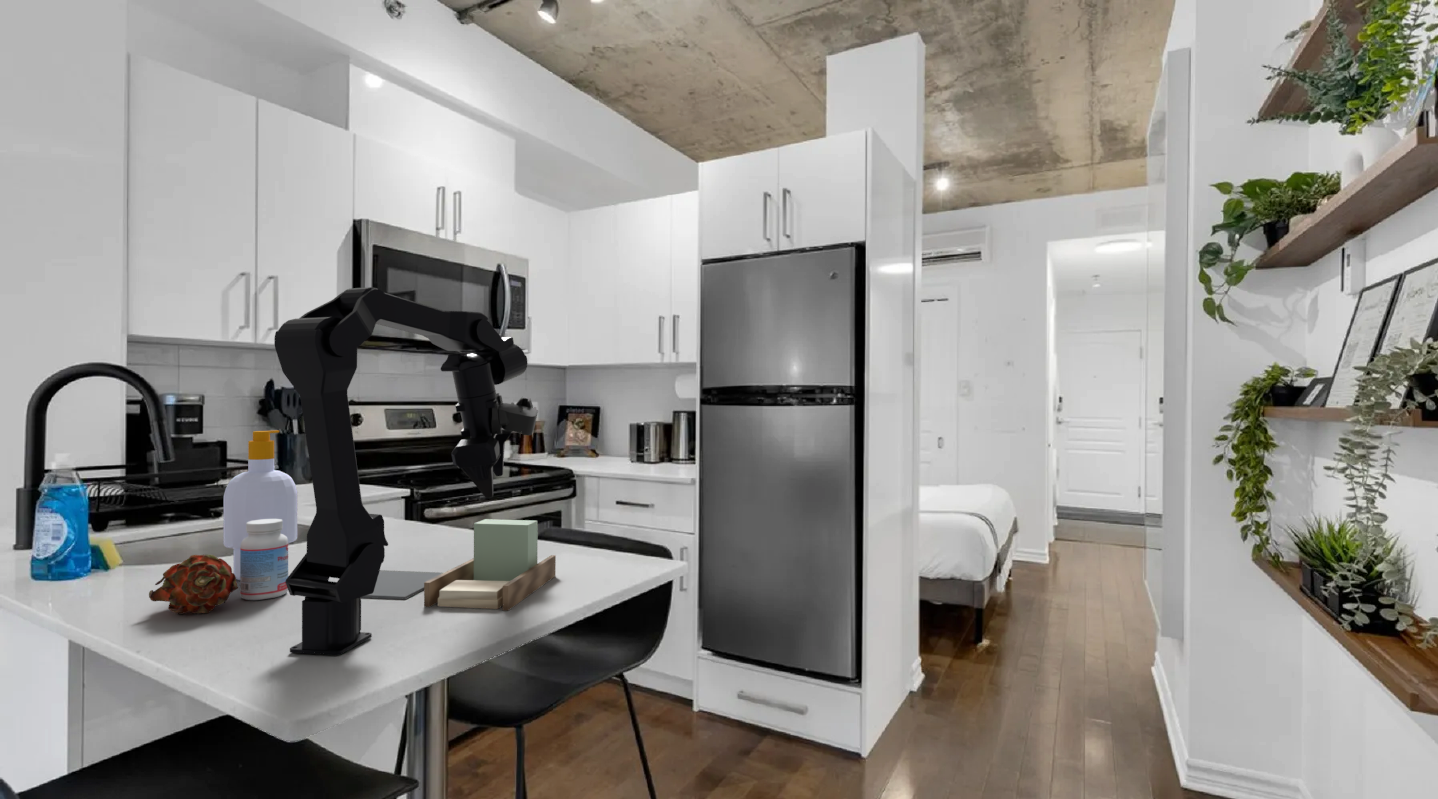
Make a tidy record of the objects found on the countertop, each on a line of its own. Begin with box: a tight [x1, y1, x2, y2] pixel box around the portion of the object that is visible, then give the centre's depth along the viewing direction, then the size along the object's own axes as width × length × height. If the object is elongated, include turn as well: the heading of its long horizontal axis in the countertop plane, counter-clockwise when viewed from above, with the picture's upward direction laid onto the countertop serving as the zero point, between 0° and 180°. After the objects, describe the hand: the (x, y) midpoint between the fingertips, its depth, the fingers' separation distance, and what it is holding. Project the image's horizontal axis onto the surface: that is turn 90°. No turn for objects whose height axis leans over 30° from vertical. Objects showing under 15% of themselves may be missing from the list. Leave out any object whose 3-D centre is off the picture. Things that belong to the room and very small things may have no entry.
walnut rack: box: [423, 554, 557, 612], centre depth 109 cm, size 19×13×4 cm, turn 173°
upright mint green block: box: [473, 518, 539, 581], centre depth 113 cm, size 4×9×10 cm, turn 83°
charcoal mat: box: [360, 569, 444, 600], centre depth 111 cm, size 14×14×1 cm
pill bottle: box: [239, 519, 289, 601], centre depth 105 cm, size 6×6×11 cm
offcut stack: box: [437, 580, 509, 610], centre depth 103 cm, size 6×9×2 cm
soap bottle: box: [222, 429, 298, 581], centre depth 116 cm, size 10×10×24 cm
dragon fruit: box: [148, 554, 239, 615], centre depth 98 cm, size 8×8×12 cm
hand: (494, 486), depth 112 cm, fingers open, 9 cm apart
